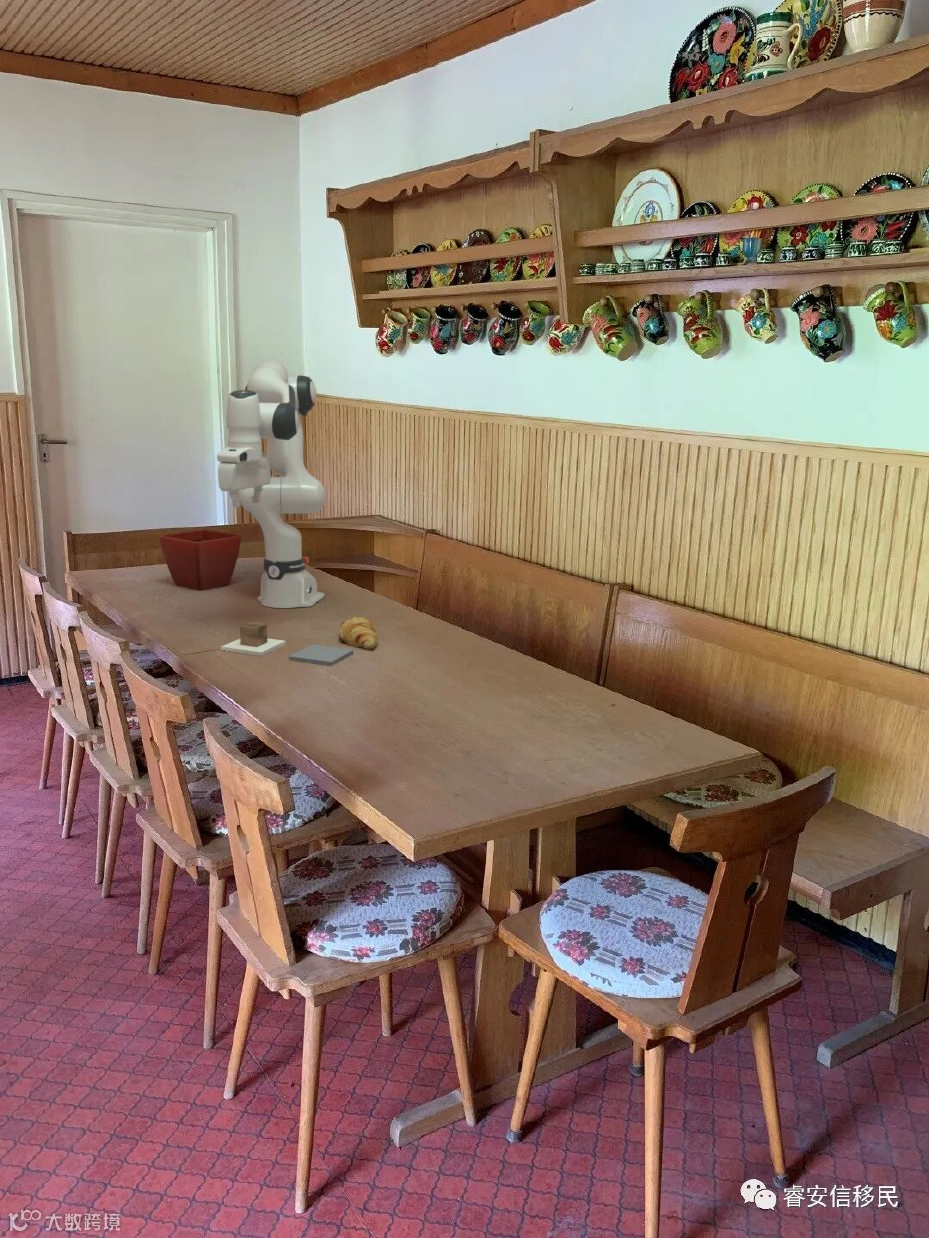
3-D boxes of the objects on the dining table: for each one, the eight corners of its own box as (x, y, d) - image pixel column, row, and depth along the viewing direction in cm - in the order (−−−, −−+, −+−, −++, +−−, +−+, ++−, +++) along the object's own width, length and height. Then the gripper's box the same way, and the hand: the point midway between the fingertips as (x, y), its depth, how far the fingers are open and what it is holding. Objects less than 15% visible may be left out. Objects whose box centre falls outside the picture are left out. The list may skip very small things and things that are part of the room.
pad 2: (312, 648, 265) (312, 644, 265) (353, 653, 261) (353, 649, 261) (289, 659, 254) (288, 656, 254) (331, 665, 250) (331, 662, 250)
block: (251, 640, 267) (250, 621, 266) (267, 642, 266) (266, 624, 264) (240, 644, 263) (239, 626, 261) (257, 647, 261) (256, 628, 260)
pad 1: (246, 639, 272) (246, 635, 272) (285, 644, 268) (285, 640, 267) (221, 650, 261) (221, 646, 261) (261, 656, 257) (261, 652, 257)
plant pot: (206, 577, 347) (204, 528, 342) (244, 585, 336) (242, 535, 332) (160, 586, 332) (157, 535, 327) (198, 594, 321) (196, 542, 317)
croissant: (382, 663, 266) (395, 635, 266) (350, 649, 261) (364, 622, 260) (352, 641, 284) (365, 615, 284) (322, 628, 279) (335, 602, 278)
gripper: (256, 449, 279) (257, 499, 282) (212, 455, 260) (215, 508, 264) (275, 450, 277) (277, 501, 280) (233, 456, 258) (235, 510, 261)
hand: (246, 504), depth 272 cm, fingers open, 8 cm apart
